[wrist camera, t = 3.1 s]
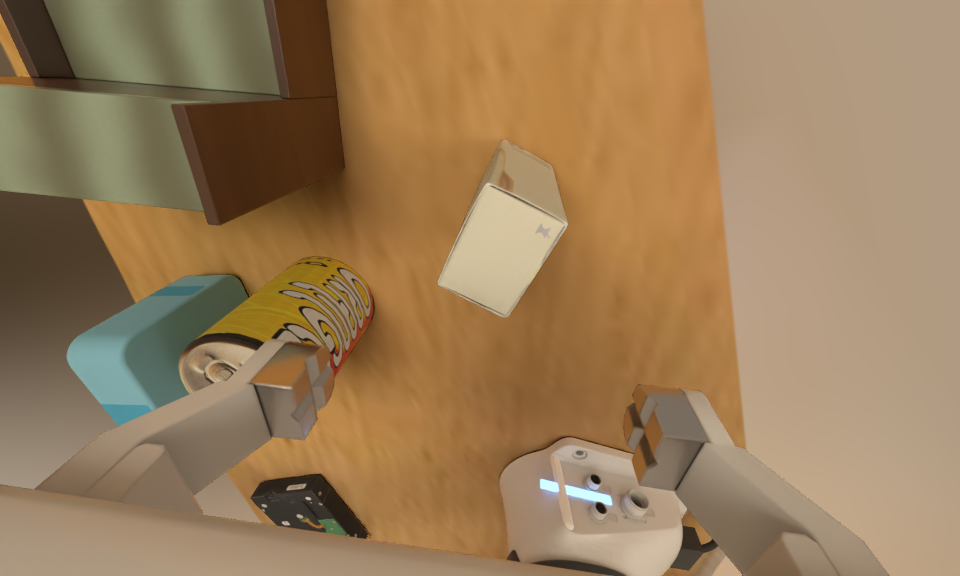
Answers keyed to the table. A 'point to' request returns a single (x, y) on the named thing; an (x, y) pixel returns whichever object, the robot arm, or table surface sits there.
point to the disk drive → (307, 506)
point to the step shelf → (170, 102)
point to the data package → (150, 344)
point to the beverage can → (284, 321)
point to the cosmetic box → (506, 231)
